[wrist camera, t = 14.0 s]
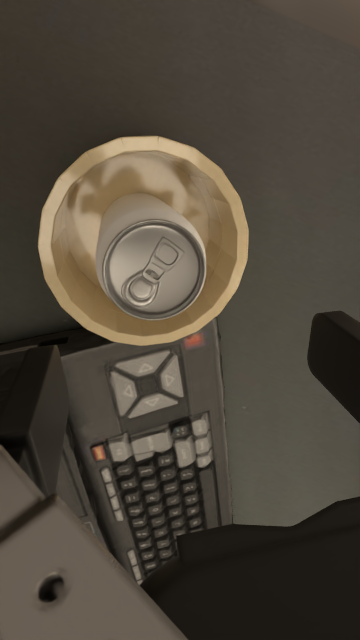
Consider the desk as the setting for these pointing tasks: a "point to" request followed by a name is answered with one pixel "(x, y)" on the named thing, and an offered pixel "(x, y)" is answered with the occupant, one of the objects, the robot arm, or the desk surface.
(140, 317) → the can
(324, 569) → the robot arm
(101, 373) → the vintage computer
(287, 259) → the desk surface
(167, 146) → the tan round bowl
